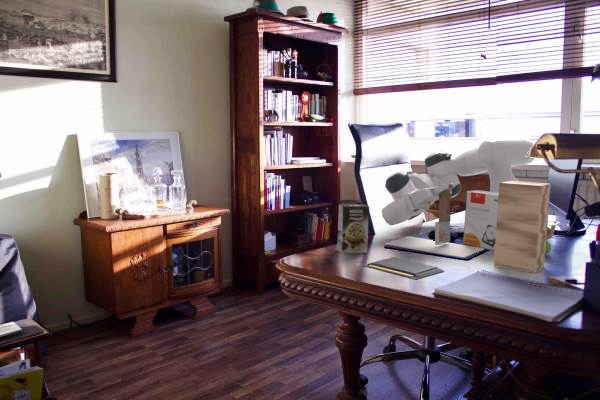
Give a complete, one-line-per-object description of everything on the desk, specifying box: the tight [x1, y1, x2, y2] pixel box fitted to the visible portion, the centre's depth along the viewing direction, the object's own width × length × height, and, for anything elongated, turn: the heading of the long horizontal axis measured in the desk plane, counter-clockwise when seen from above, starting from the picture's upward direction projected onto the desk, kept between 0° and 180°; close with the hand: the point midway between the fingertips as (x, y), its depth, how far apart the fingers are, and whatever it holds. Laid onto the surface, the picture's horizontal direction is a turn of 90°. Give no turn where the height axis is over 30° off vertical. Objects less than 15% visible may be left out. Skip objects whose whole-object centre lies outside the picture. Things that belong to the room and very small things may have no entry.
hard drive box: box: [462, 189, 499, 252], centre depth 189 cm, size 16×8×20 cm, turn 41°
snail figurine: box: [545, 221, 557, 256], centre depth 178 cm, size 5×6×12 cm
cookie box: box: [336, 203, 370, 255], centre depth 178 cm, size 9×6×16 cm
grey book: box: [362, 256, 445, 281], centre depth 157 cm, size 20×2×15 cm
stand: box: [493, 181, 552, 274], centre depth 161 cm, size 10×12×26 cm
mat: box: [384, 235, 485, 259], centre depth 188 cm, size 18×30×1 cm, turn 50°
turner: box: [434, 185, 451, 245], centre depth 188 cm, size 9×21×3 cm
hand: (450, 185), depth 185 cm, fingers closed on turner, 3 cm apart
